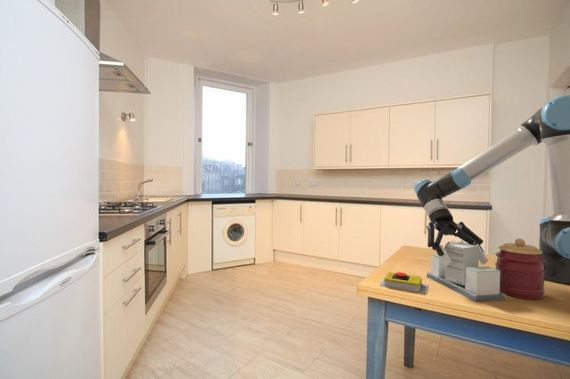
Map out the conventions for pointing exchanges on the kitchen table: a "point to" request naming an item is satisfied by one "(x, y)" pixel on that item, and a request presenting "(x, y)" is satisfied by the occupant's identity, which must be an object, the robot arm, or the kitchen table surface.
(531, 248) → the canister
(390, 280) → the emergency button
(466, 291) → the mounting rail
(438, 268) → the grey module pair
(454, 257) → the grey ridged module
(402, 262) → the kitchen table surface
